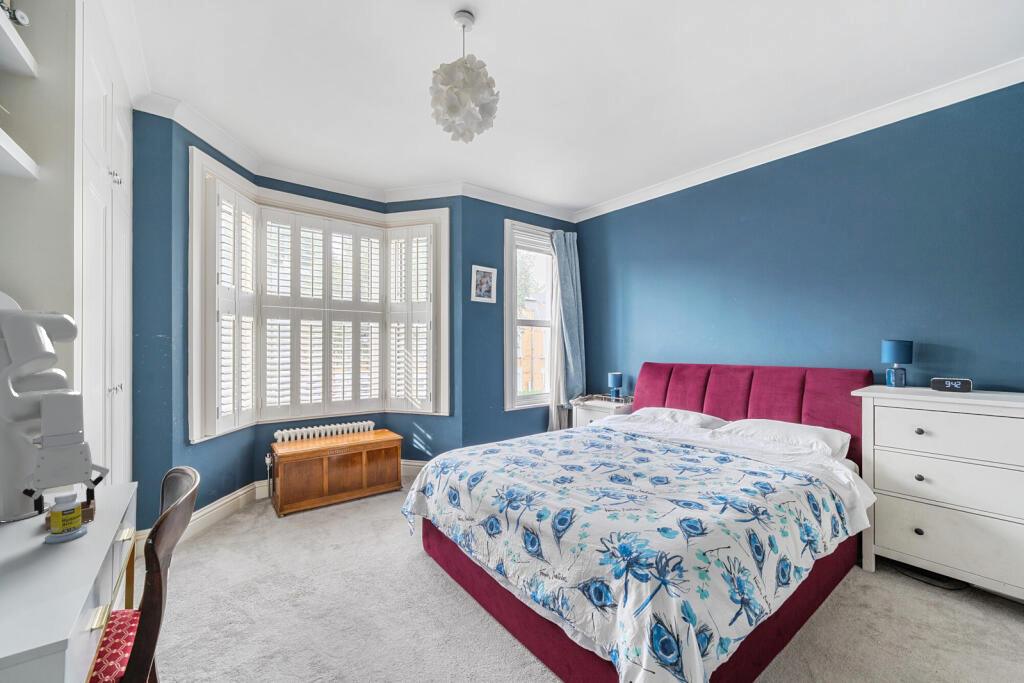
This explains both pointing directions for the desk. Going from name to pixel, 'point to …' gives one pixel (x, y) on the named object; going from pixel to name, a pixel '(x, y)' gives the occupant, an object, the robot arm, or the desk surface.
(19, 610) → the desk surface
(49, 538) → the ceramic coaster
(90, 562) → the desk surface
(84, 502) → the walnut holder
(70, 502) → the supplement bottle
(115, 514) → the desk surface
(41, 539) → the desk surface
